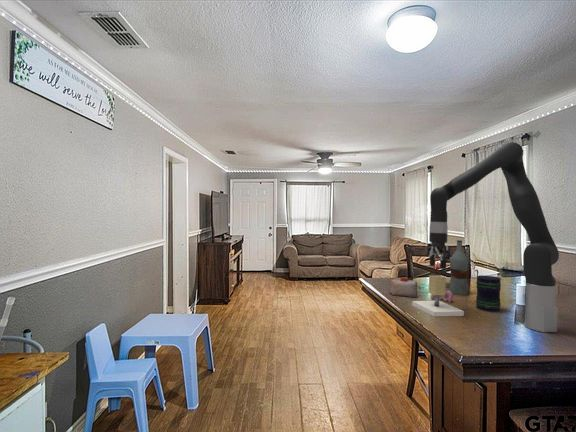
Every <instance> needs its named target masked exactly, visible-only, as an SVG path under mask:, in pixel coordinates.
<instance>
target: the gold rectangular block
mask: <svg viewBox="0 0 576 432" xmlns="http://www.w3.org/2000/svg"><path fill="white" fill-rule="evenodd" d="M446 279H447V277H446V276H443V275H433V274H432V275H430V274H429V275H428V293H429V294H431V295H432V294H433V295H441V296H445V290H446V289H447V288H446V282H447V281H446Z"/></svg>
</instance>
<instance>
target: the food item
mask: <svg viewBox="0 0 576 432" xmlns="http://www.w3.org/2000/svg"><path fill="white" fill-rule="evenodd" d="M390 290H391V294H392V296H394V295H397V296H396V297H406V296H407V297H408V298H418V282H417V280H409V279H408V278H406V277H405V276H403V277H400V279H392V280H391V281H390Z"/></svg>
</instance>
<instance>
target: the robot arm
mask: <svg viewBox="0 0 576 432" xmlns="http://www.w3.org/2000/svg"><path fill="white" fill-rule="evenodd" d="M498 169H500V170H501V171H502V173H503V175H504V178H505V181H506V185H507V193H508V196H509V200H510V201H509V202H510V205H511V207H512V210H513V212H514V215H515V217H516V219H517V220H518V222H519V224H520V225H521V226H522V227H523V229H524V230H525V232H526V234H527V236H528V239H529V243H530V244H528V245H527V246H526V247H525V248H524V250H523V255H522V257H523V258H522V259H523V260H522V262H523V264H522V265H523V275H524V278H525V302H524V304H525V305H524V306H525V307H524V308H525V309H524V326H525V327H526V328H527V329H530V330H533V331H537V332H541V333H557V332H558V319H559V318H558V313H559V312H558V311H559V309H558V306H556V282H557V281H556V278H555V277H554V276H553V267H552V266H553V265H555V264H556V263H557V262H558V261H559V258H560V253H559V249H558V248H557V245H556V243H555V240H554V239H553V237H552V235H551V233H550V230H549V228H548V224H547V220H546V217H545V216H544V215H545V214H544V211H543V209H542V206H541V201H540V198H539V196H538V194H537V192H536V188H535V187H534V185H533V184H532V183H531V181H530V179H529V178H528V175H527V172H526V169H525V165H524V149H523V147H522V146H521V144H520V143H518V142H513V141H512V142H506V143H504V144H502V145H500V146H499V148H497V149H496V150H495V151H493V152H492V153H491V154H490V155H488V156H487V157H486V158H484V159H483V160H481V161H480V162H478V163H477V164H475V165H474V166H473V167H470V168H469V169H468V170H466V171H464V172H462V173H461V174H459V175H458V176H457V175H456V177H454V178H452V179H451V180H450V181H449V182H447V183H446V184H444V185H442V186H441V187H436V188H434V189H433V190H431V192H430V197H429V198H430V220H429V221H430V222H429V240H428V241H429V242H430V243H428V242H427V244H426V245H427V246H426V256H427V257H428V258H429V266H431V267H435V266H436V256H438V257H439V258H440V269H441V270H446V269H447V261H449V260H451V247H450V245H446V243H448V232H449V231H448V230H449V229H448V211H447V207H448V201H449V200H451V199H452V198H454V197H455V196H457V195H459V194H460V193H463V192H465V191H467V190H468V189H469V188H472V187H474V186H475V185H476V184H477V183H479V182H481V180H483V179H484V178H485V177H487V176H488V175H490V174H491V173H492V172H494V171H496V170H498Z"/></svg>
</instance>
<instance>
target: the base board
mask: <svg viewBox="0 0 576 432" xmlns="http://www.w3.org/2000/svg"><path fill="white" fill-rule="evenodd" d="M411 305H412V307H415V308H416V309H418V310H420V311H422V312H424V313H426V314H428V315H430V316H432V317H434V318H435V317H464V315H465V311H464V310H461V309H460V308H457V307H455V306H453V305H450V304H448V303H445V302H443V301H441V300H439V307H437V306H434V300H413V301H412V302H411Z"/></svg>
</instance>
